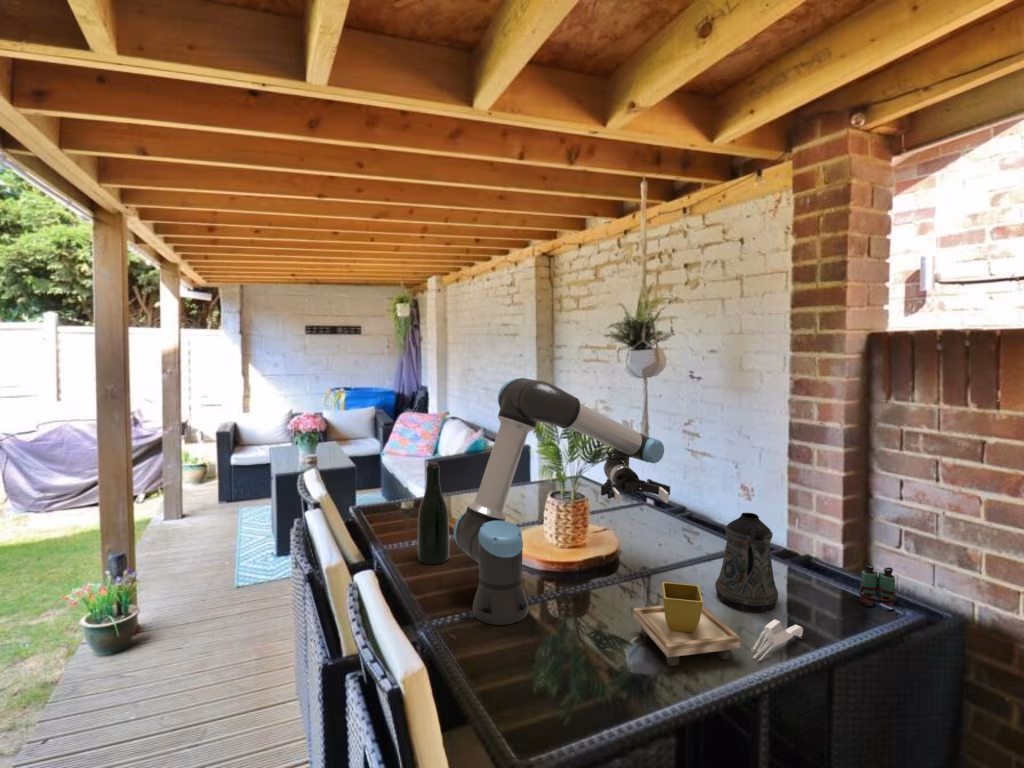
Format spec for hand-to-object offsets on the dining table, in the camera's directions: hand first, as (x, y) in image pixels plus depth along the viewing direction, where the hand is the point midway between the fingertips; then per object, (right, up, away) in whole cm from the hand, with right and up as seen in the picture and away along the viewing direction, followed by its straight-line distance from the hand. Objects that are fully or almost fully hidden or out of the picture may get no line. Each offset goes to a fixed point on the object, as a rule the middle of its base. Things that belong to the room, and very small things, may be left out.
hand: (642, 498), depth 155 cm
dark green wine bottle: (-63, -27, +33) cm, 76 cm away
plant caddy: (+5, -32, -20) cm, 38 cm away
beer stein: (+31, -30, +3) cm, 43 cm away
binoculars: (+66, -31, +2) cm, 73 cm away
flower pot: (+4, -27, -20) cm, 34 cm away
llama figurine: (+27, -32, -21) cm, 47 cm away
